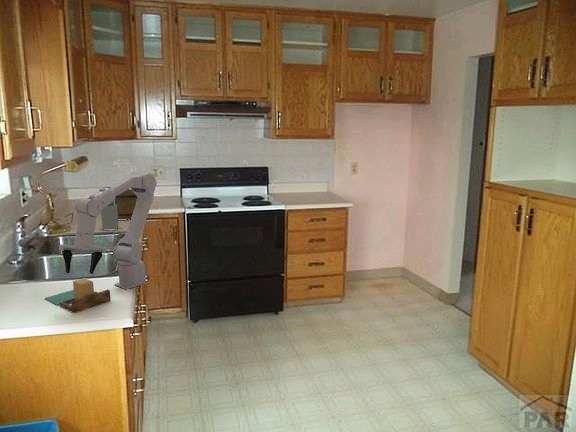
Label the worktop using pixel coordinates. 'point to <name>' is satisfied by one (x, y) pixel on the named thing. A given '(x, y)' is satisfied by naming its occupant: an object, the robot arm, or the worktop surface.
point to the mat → (60, 297)
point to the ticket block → (83, 288)
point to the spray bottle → (109, 216)
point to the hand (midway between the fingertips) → (79, 273)
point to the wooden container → (126, 204)
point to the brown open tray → (86, 301)
